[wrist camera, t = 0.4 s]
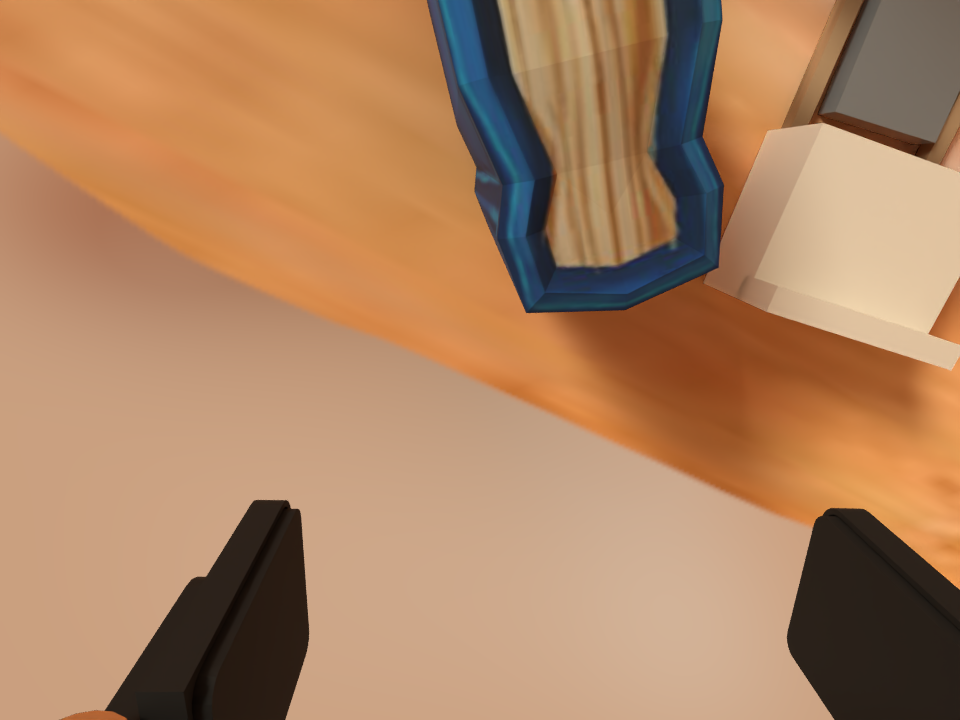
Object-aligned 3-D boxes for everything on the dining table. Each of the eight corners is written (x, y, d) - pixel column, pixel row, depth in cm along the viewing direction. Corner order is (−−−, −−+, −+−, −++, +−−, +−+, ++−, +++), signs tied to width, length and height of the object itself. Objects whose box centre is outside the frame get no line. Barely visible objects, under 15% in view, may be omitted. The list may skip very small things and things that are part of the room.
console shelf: (767, 130, 39) (855, 118, 30) (926, 187, 40) (1053, 191, 31) (702, 283, 42) (766, 311, 33) (853, 331, 43) (951, 370, 34)
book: (584, 221, 40) (768, 293, 16) (483, 246, 40) (516, 352, 16) (517, -159, 34) (658, -975, 10) (396, -126, 34) (245, -842, 10)
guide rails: (912, -178, 34) (928, -190, 33) (1064, -111, 35) (1084, -120, 34) (778, 134, 39) (788, 133, 38) (916, 183, 40) (929, 184, 39)
